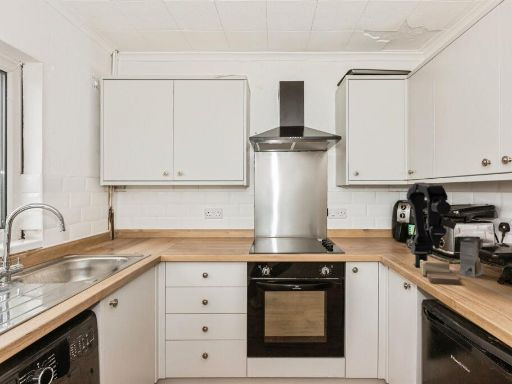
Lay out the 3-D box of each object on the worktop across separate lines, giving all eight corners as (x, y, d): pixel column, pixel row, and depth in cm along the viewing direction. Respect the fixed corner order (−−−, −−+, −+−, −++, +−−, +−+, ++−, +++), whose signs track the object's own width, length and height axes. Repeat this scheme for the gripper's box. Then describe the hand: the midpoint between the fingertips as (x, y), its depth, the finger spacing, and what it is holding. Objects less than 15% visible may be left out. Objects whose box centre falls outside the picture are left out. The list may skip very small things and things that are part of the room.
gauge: (420, 271, 160) (420, 259, 160) (446, 273, 157) (446, 260, 157) (422, 275, 153) (422, 262, 153) (450, 276, 150) (450, 264, 150)
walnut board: (424, 273, 159) (424, 268, 159) (450, 274, 155) (450, 270, 155) (430, 282, 143) (430, 277, 143) (460, 284, 140) (460, 279, 140)
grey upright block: (468, 271, 160) (467, 237, 160) (483, 274, 155) (483, 239, 155) (459, 275, 155) (459, 239, 155) (475, 277, 150) (474, 241, 149)
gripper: (460, 214, 143) (460, 251, 143) (449, 211, 161) (450, 244, 161) (430, 214, 146) (431, 250, 147) (423, 211, 164) (424, 243, 164)
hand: (434, 247), depth 154 cm, fingers open, 9 cm apart
